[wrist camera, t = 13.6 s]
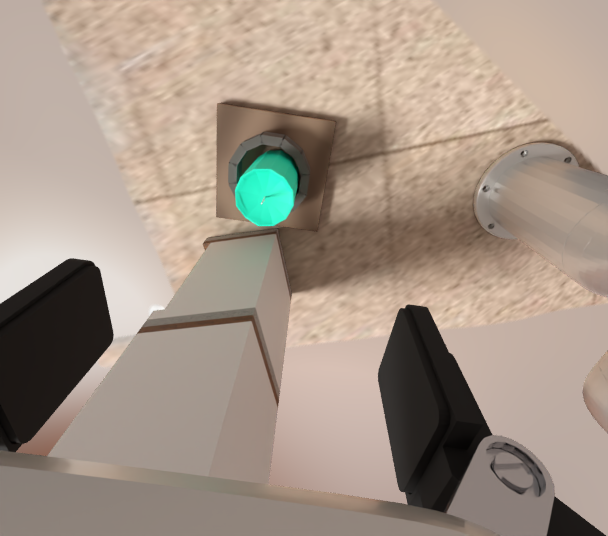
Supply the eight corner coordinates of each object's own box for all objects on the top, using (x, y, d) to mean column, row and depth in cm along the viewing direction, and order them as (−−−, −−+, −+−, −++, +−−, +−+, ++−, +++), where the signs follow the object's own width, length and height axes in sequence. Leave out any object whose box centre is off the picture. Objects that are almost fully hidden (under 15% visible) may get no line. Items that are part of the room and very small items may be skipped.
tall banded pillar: (207, 237, 47) (7, 509, 17) (277, 228, 46) (201, 500, 16) (228, 301, 53) (106, 593, 22) (291, 293, 52) (255, 590, 21)
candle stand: (335, 121, 39) (337, 124, 35) (317, 227, 46) (317, 240, 42) (220, 103, 39) (209, 104, 35) (219, 213, 45) (210, 225, 41)
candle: (274, 138, 39) (258, 156, 28) (309, 174, 41) (306, 204, 30) (242, 174, 41) (217, 203, 31) (277, 206, 43) (264, 244, 33)
